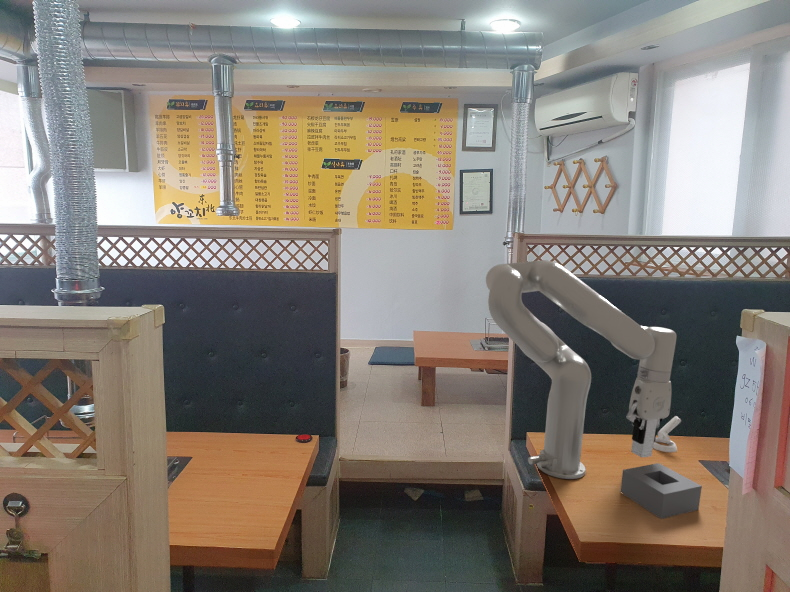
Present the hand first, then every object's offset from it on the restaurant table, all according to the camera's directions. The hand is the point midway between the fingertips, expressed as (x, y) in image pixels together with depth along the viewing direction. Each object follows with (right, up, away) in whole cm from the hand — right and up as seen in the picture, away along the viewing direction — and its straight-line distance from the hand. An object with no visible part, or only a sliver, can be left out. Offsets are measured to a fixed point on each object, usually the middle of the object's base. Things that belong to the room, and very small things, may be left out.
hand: (643, 440), depth 138 cm
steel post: (0, -4, +1) cm, 4 cm away
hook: (+15, -7, +19) cm, 25 cm away
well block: (-2, -11, -13) cm, 17 cm away
